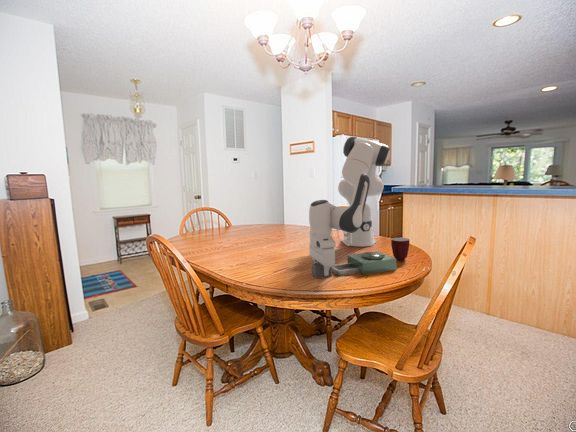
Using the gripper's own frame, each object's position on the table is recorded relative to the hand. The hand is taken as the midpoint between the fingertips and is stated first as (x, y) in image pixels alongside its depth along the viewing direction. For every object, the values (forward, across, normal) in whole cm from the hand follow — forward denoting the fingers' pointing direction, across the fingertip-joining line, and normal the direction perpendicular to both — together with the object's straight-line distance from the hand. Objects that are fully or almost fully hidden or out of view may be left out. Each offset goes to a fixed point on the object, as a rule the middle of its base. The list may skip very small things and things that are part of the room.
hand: (321, 271), depth 127 cm
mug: (+2, -5, +42) cm, 42 cm away
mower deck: (+2, -1, +19) cm, 19 cm away
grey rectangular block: (+2, 0, 0) cm, 2 cm away
